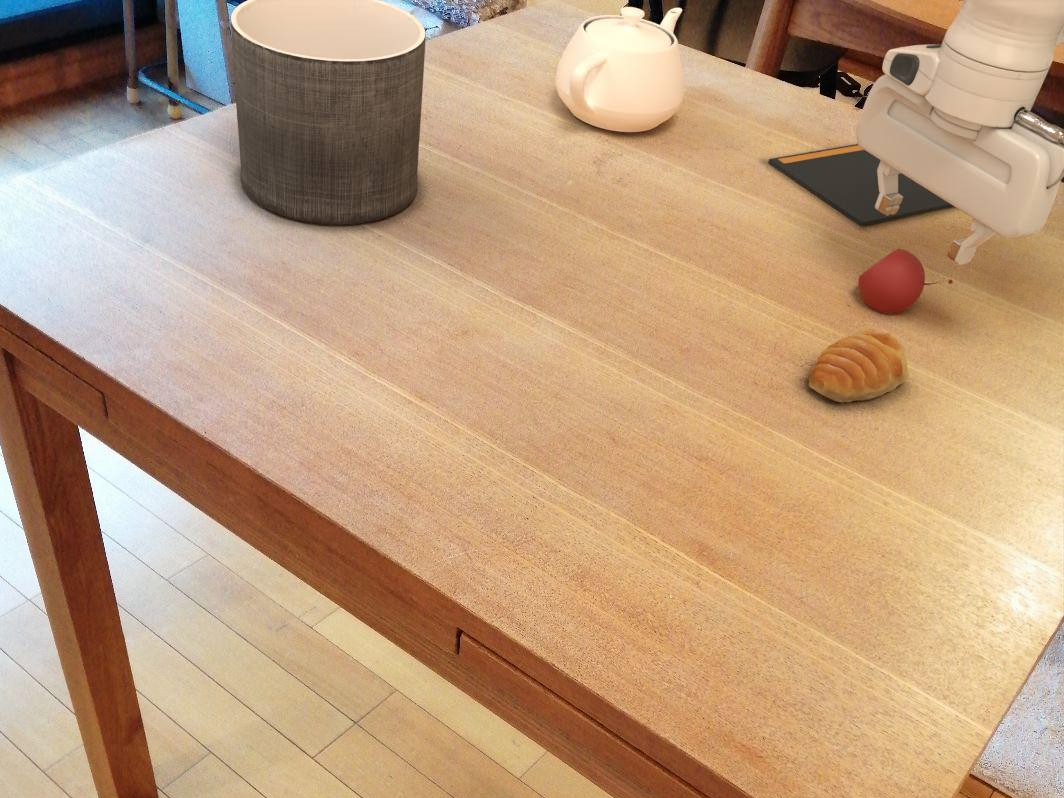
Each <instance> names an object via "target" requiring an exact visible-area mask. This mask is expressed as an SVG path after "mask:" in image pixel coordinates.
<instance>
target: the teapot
mask: <svg viewBox="0 0 1064 798" xmlns="http://www.w3.org/2000/svg"><path fill="white" fill-rule="evenodd" d="M682 13H683V9H682V8H681V7H673V8H671V9H670V10H668V11H666V14H665V15H664V17H663V19H662V21H661V22H660V24H658V23H656V22H653V21H650V20H647V19H643V18H644V17H645V16H646V15H645V11H644V10H643V9H641V8H637V7H633V6H625V7H622V8H621V9H620V14H621V15H619V14H603V15H596V16H591V17H589V18H586V19H585V20H584V21H582V22H581V24H580V25H579V26H578V28H577V29H576V31H575V32H574V33H573V36H572V37H571V38H570V41H569V42H568V44H567V45H566V48H565V49H564V51H563V53H562V55H561V57H560V60H559V62H558V65H557V68H556V72H555V78H554V79H555V80H554V81H555V82H554V85H555V88H556V91H557V94H558V97H559V98H560V99H561V101H562V102H563V103H564V105H565V107H567V108H568V110H569V111H570V112H571V114H572V115H573V116H575V117H576V118H577V119H579V120H580V121H581V122H584V123H586V124H588V125H591V126H594V127H596V128H599V129H603V130H607V131H613V132H619V133H639V132H646V131H650V130H652V129H655V128H656V127H658V126H659V125H661V124H662V123H664V122H666V121H668V120H669V119H670V118H671V117H673V116H674V115H675V114H676V113H677V112H678V111H679V109H680V108H681V105H682V104H683V101H684V98H685V92H686V91H685V88H686V85H685V83H686V81H685V70H684V63H683V58H682V53H681V50H680V49H681V48H680V45H679V41H678V39H677V38H678V37H676V35H675V33H674V30H675V27H676V23H677V21H678V20H679V17H680V16H681V14H682Z"/></svg>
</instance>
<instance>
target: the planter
mask: <svg viewBox="0 0 1064 798" xmlns="http://www.w3.org/2000/svg"><path fill="white" fill-rule="evenodd" d="M229 20H230V34H231V48H232V49H231V51H232V63H233V77H234V91H235V104H236V106H235V107H236V118H237V119H236V120H237V134H238V147H239V149H238V150H239V160H240V167H239V168H240V169H239V170H240V171H239V172H240V183H241V187H242V189H243V190H244V192H245V193H246V195H247V196H248V197H249V198H250V199H251V200H252V201H253V202H255V203H256V204H258V205H259V206H261V207H262V208H265V209H266V210H268V211H270V212H272V213H275V214H277V215H280V216H283V217H286V218H288V219H293V220H296V221H302V222H307V223H312V224H313V223H314V224H322V225H355V224H357V225H358V224H365V223H371V222H375V221H379V220H382V219H386V218H389V217H391V216H394V215H395V214H397V213H400V212H401V211H403V210H404V209H406V208H407V207H408V206H409V205H411V203H412V202H413V201H414V199H415V198H416V196H417V194H418V193H417V192H418V166H419V155H420V154H419V152H420V137H421V136H420V135H421V124H422V123H421V122H422V105H423V104H422V103H423V90H424V89H423V87H424V73H425V72H424V71H425V56H426V41H427V31H426V28H425V26H424V24H423V23H422V22H421V21H420V20H419V19H418V18H417V17H416V16H414V15H413V14H411V13H410V12H408V11H406V10H404V9H402V8H401V7H398V6H396V5H393V4H392V3H388V2H385V1H382V0H245V1H243V2H242V3H240V4H238V5H237V6H236V7H235V8H234V9H233V10H232V12H231V14H230V19H229Z"/></svg>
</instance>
